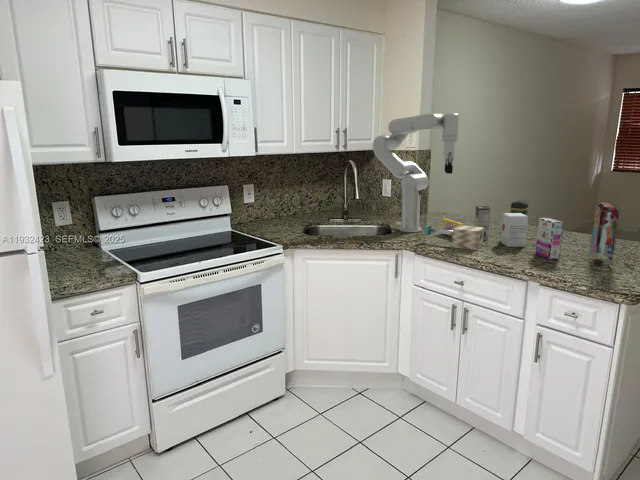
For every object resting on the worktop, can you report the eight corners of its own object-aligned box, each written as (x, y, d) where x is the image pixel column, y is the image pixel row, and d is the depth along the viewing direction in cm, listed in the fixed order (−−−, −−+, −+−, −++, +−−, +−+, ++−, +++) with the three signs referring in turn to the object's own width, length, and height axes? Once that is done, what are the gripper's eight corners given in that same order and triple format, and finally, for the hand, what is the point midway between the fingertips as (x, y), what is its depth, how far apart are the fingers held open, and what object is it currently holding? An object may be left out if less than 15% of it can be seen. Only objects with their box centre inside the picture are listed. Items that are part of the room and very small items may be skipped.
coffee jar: (522, 238, 233) (525, 202, 229) (506, 236, 238) (509, 201, 233) (527, 234, 240) (530, 200, 236) (511, 232, 245) (514, 198, 241)
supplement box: (500, 242, 225) (502, 212, 221) (518, 242, 224) (520, 212, 221) (506, 247, 216) (509, 216, 212) (526, 246, 215) (528, 215, 212)
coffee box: (473, 235, 241) (475, 205, 237) (486, 235, 239) (488, 205, 236) (475, 239, 232) (477, 208, 228) (488, 239, 231) (491, 208, 227)
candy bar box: (560, 259, 193) (564, 221, 190) (549, 259, 193) (553, 222, 189) (545, 252, 204) (549, 217, 201) (534, 253, 204) (538, 217, 200)
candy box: (442, 233, 248) (442, 218, 246) (445, 233, 248) (446, 218, 247) (460, 239, 233) (461, 223, 231) (463, 239, 234) (464, 223, 232)
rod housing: (451, 247, 217) (452, 228, 215) (458, 242, 225) (458, 225, 223) (477, 250, 211) (478, 231, 209) (482, 245, 219) (484, 227, 217)
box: (586, 252, 203) (593, 198, 197) (602, 254, 200) (609, 199, 195) (594, 268, 181) (601, 207, 175) (612, 269, 178) (620, 208, 173)
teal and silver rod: (424, 235, 227) (424, 226, 226) (427, 233, 230) (427, 224, 229) (460, 238, 217) (460, 229, 216) (462, 237, 221) (463, 228, 220)
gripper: (441, 138, 239) (439, 171, 242) (443, 139, 222) (441, 174, 226) (456, 138, 237) (454, 171, 241) (459, 138, 221) (457, 174, 224)
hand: (448, 172), depth 233 cm, fingers open, 9 cm apart
